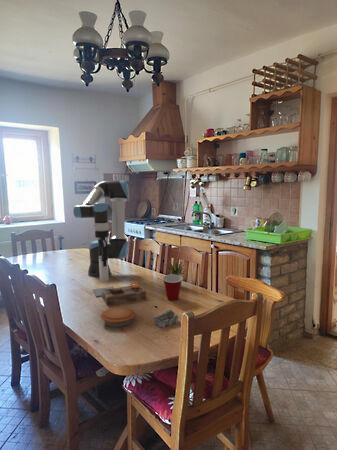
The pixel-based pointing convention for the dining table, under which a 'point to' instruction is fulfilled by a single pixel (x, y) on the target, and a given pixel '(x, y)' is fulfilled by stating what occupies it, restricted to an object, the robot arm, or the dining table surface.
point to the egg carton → (166, 319)
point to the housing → (123, 295)
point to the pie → (118, 316)
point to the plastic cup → (172, 286)
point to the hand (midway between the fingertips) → (103, 270)
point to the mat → (100, 291)
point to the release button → (135, 286)
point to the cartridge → (103, 275)
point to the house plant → (176, 269)
